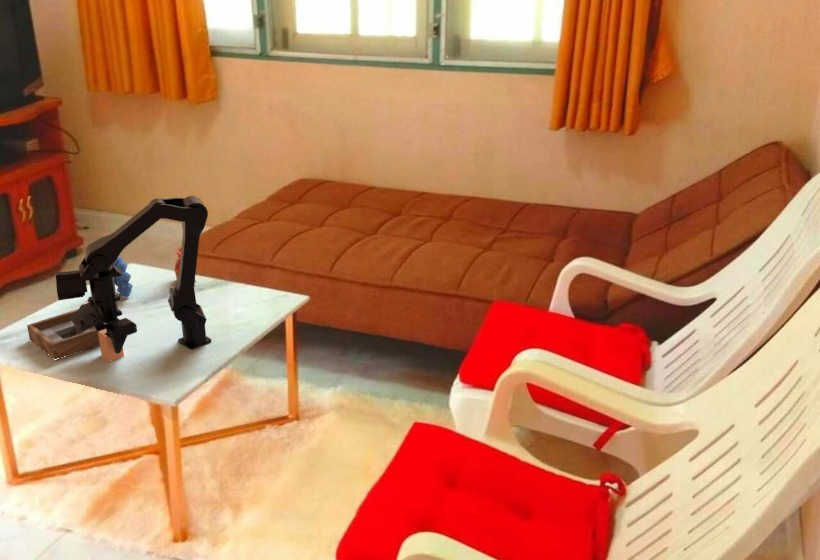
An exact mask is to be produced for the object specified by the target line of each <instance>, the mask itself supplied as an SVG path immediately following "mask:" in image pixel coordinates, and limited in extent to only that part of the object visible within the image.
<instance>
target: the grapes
mask: <svg viewBox="0 0 820 560" xmlns="http://www.w3.org/2000/svg"><path fill="white" fill-rule="evenodd" d="M113 265H114V266H115V267H117V268H119V269H120V270H121V274H122V275H121V276H118V277H114V283H115V287H117V289H116V292H118V293H119V294H120V295H122V296H123V297H124V298H129V297H130V296H131V294H132V290H133V287H134V286H133V284H132V283H131V282H130V281H131V277H132V275H131V274H130V273H129V272H127V269H128V265H127V264H126V263H125V262H124V259H123V258H122V257H121V256H120V255H119V256H118V258H117V259H116V261H115V262H114V263H113Z"/></svg>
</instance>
